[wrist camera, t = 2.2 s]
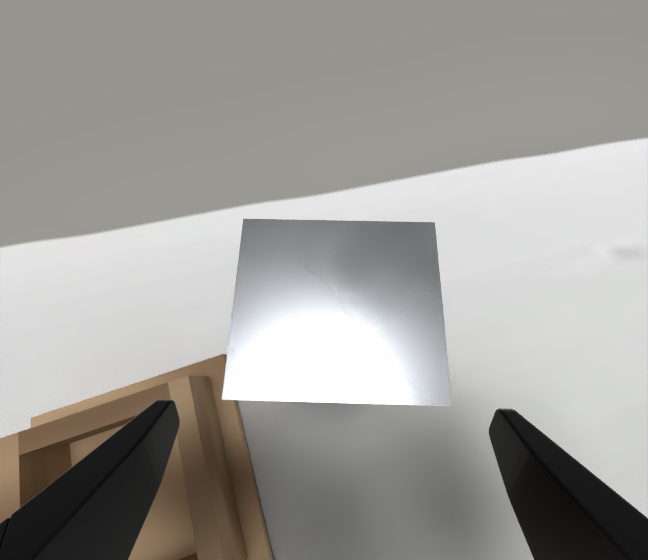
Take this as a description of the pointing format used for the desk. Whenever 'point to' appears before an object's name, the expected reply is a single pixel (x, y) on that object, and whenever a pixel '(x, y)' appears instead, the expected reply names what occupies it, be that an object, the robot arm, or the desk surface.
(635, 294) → the desk surface
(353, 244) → the silver block
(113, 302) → the desk surface
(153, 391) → the well
